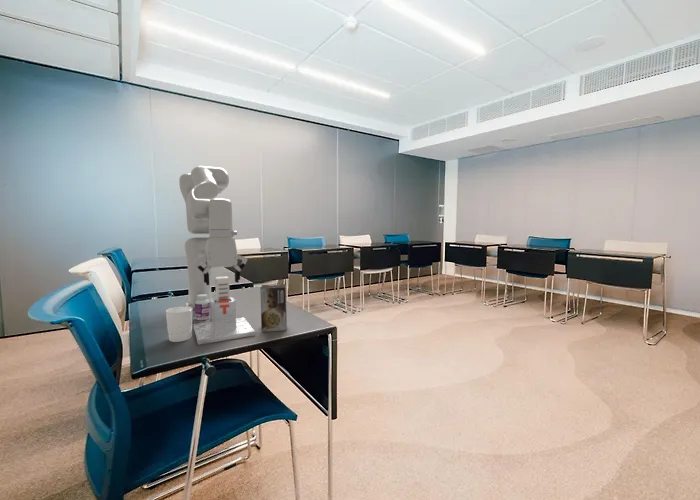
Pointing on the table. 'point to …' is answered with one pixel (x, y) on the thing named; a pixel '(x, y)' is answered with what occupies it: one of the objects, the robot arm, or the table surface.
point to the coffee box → (273, 307)
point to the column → (222, 288)
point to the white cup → (179, 323)
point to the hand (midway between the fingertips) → (222, 283)
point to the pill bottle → (202, 307)
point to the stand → (222, 323)
